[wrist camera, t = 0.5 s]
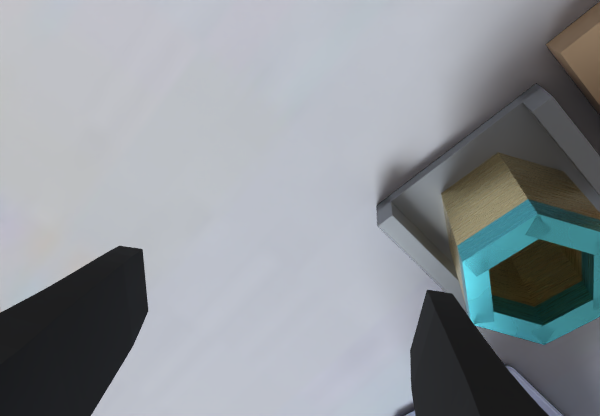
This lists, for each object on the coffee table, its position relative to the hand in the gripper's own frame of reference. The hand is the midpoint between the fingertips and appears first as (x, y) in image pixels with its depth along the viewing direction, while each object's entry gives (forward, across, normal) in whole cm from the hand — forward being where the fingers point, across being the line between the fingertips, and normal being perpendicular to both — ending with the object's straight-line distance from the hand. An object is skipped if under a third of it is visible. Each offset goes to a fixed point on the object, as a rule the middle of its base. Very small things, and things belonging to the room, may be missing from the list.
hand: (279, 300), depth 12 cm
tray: (+10, -8, +1) cm, 13 cm away
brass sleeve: (+9, -8, +1) cm, 13 cm away
